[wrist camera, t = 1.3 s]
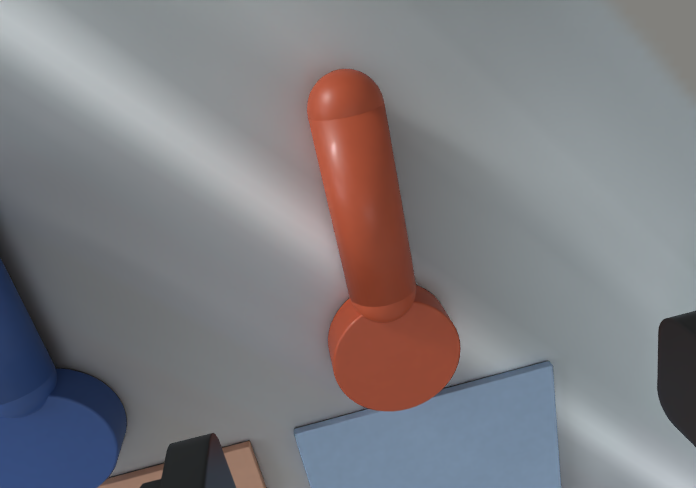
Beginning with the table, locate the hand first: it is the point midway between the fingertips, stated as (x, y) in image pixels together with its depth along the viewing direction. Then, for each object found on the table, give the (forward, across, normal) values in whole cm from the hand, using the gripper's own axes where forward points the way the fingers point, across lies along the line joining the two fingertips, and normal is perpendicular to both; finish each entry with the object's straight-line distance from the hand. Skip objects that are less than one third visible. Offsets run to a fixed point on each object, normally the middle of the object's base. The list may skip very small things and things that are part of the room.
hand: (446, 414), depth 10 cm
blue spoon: (+13, +13, +2) cm, 19 cm away
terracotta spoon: (+13, -1, +2) cm, 13 cm away
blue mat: (+13, -2, +16) cm, 21 cm away
